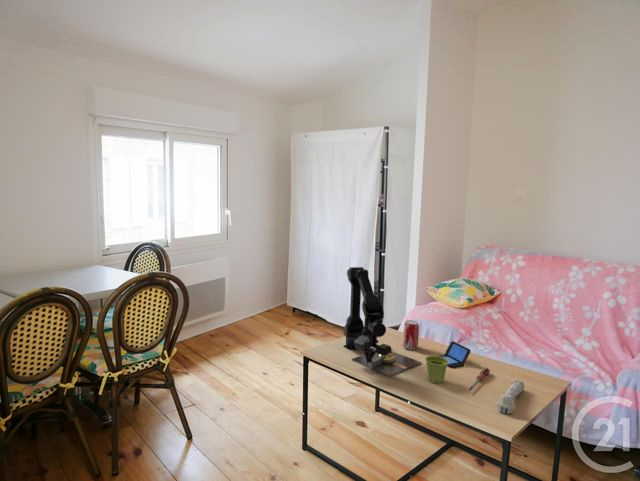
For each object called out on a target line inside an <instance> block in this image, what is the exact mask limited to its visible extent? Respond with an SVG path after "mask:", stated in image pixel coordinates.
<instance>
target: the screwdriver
mask: <svg viewBox="0 0 640 481" xmlns="http://www.w3.org/2000/svg"><path fill="white" fill-rule="evenodd" d="M489 374H490V369H489V368H487V367H485V368H484V369H482V370H481V371H480V372H479V374H478V375H477V376H476V380H475V382H474V383H473V384H472V385H470V387H469V388H468V391H470V392H471V390H472V389H473V388H475V387H476V385H477V384H478V383H482V382H483V380H485V379H486V378H487V377H488V376H489Z"/></svg>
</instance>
